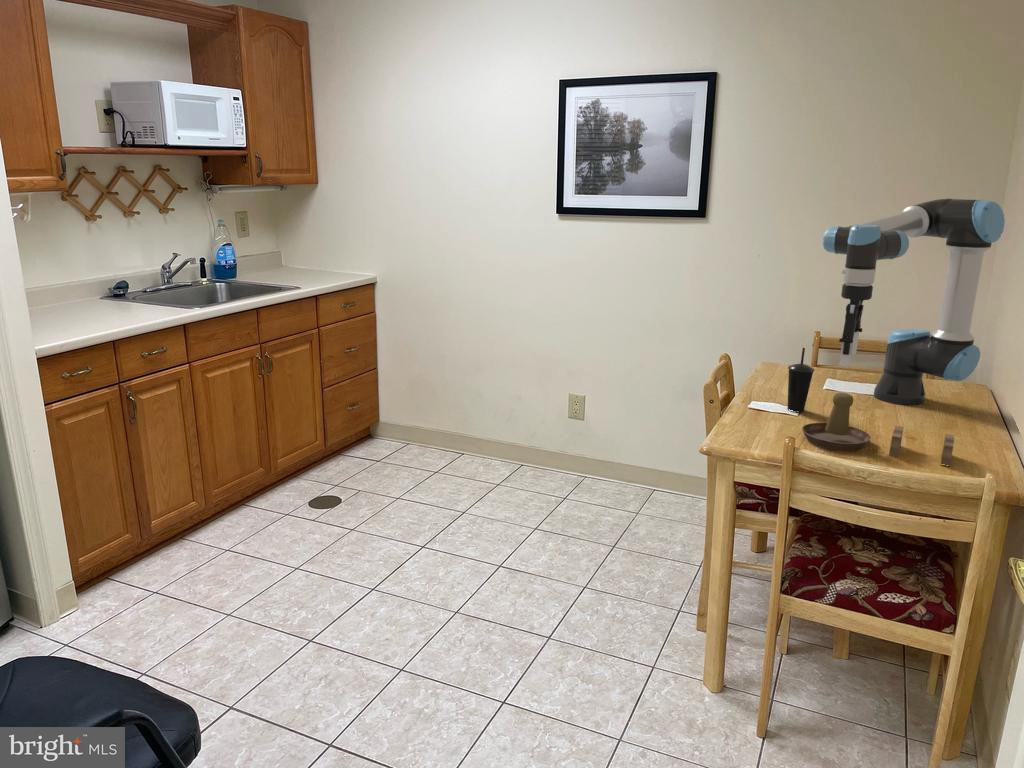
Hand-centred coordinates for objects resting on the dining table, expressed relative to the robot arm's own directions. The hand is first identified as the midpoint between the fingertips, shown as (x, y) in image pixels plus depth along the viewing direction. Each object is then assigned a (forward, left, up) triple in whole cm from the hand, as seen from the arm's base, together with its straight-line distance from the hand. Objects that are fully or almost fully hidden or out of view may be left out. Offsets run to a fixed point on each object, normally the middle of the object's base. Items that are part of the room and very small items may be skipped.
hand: (847, 360), depth 207 cm
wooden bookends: (-15, +16, -22) cm, 31 cm away
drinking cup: (+3, -22, -22) cm, 31 cm away
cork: (+3, +5, -19) cm, 20 cm away
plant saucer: (+3, +5, -23) cm, 23 cm away
